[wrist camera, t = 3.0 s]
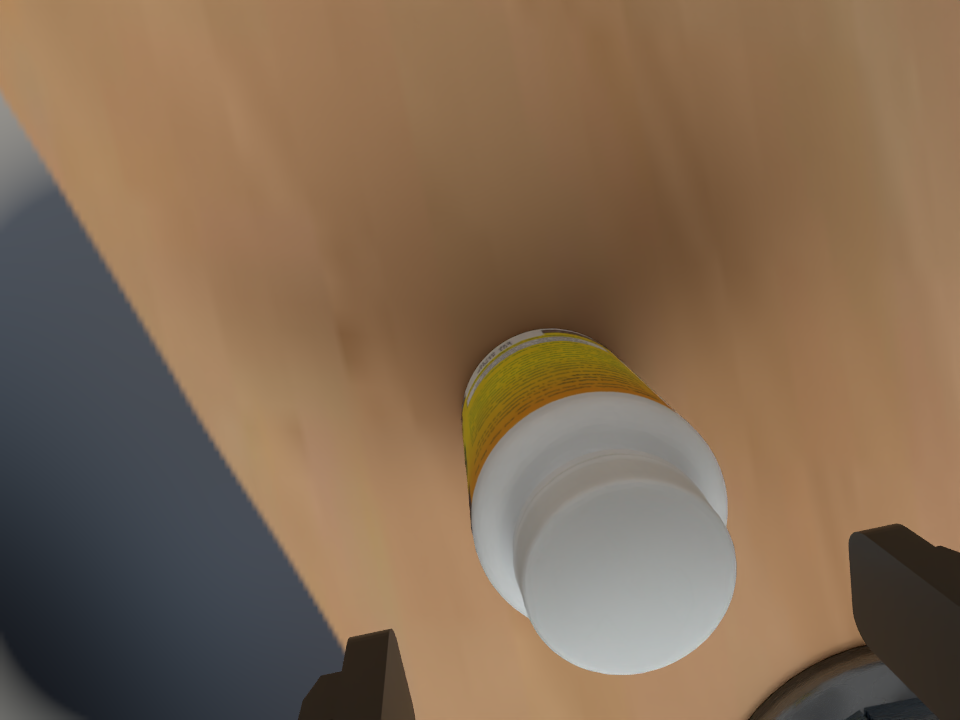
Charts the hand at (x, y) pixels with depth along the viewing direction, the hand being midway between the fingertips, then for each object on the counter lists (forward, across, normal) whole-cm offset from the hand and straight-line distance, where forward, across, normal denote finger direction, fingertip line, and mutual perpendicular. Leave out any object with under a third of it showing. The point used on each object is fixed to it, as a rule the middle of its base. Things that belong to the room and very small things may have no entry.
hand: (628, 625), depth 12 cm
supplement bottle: (+11, 0, 0) cm, 11 cm away
